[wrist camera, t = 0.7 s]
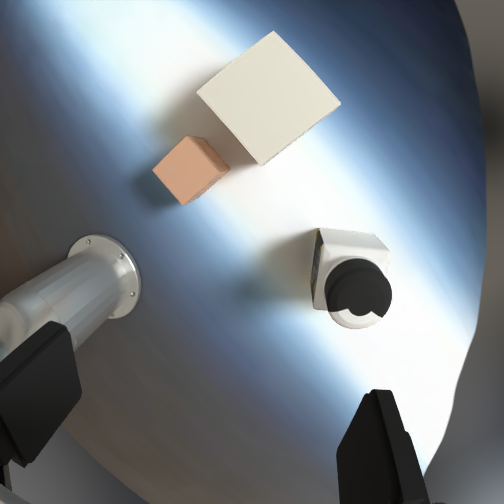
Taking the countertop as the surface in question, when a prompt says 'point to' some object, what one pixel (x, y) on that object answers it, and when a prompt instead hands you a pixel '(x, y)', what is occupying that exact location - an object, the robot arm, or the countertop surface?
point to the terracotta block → (190, 169)
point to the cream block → (268, 97)
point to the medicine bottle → (350, 277)
